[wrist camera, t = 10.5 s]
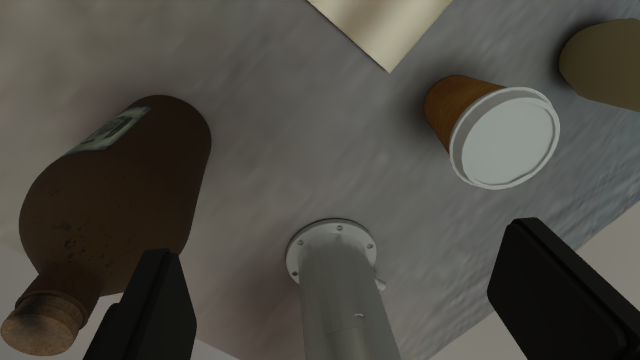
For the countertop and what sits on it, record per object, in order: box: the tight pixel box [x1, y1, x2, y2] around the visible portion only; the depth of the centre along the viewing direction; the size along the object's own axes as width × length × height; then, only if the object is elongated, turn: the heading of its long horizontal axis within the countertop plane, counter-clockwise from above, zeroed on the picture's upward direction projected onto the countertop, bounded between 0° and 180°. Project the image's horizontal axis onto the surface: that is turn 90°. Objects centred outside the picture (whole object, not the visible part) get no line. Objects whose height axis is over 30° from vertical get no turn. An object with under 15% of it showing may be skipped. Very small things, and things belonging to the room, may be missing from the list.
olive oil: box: [0, 95, 211, 356], centre depth 28 cm, size 11×11×25 cm
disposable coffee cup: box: [424, 75, 560, 190], centre depth 36 cm, size 10×10×12 cm
